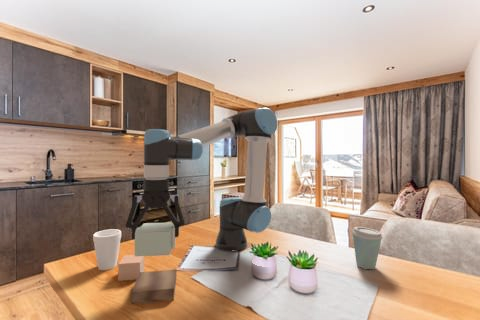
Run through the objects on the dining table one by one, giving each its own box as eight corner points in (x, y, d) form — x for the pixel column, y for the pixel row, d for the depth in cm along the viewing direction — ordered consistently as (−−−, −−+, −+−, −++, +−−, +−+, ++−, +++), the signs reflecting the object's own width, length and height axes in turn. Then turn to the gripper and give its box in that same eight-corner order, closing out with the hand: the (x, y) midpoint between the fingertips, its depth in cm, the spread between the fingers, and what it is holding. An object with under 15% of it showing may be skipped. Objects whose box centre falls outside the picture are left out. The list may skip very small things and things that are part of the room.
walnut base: (176, 280, 83) (176, 269, 83) (173, 301, 71) (173, 288, 71) (139, 284, 80) (139, 272, 80) (130, 306, 69) (130, 292, 69)
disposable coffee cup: (367, 259, 100) (368, 224, 100) (388, 271, 90) (389, 232, 90) (345, 262, 98) (346, 226, 98) (365, 275, 87) (366, 234, 87)
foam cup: (108, 273, 86) (108, 238, 86) (87, 270, 88) (87, 236, 88) (126, 262, 96) (126, 230, 95) (106, 259, 98) (106, 228, 97)
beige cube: (144, 269, 90) (144, 254, 90) (139, 279, 83) (140, 262, 83) (124, 271, 88) (124, 255, 88) (118, 281, 82) (118, 263, 81)
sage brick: (174, 242, 81) (174, 222, 81) (169, 255, 71) (169, 231, 71) (143, 243, 80) (144, 223, 80) (134, 256, 70) (134, 232, 70)
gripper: (193, 177, 81) (192, 241, 81) (121, 177, 77) (120, 245, 77) (193, 179, 74) (192, 250, 74) (113, 179, 69) (113, 255, 70)
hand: (156, 248), depth 76 cm, fingers closed on sage brick, 10 cm apart
